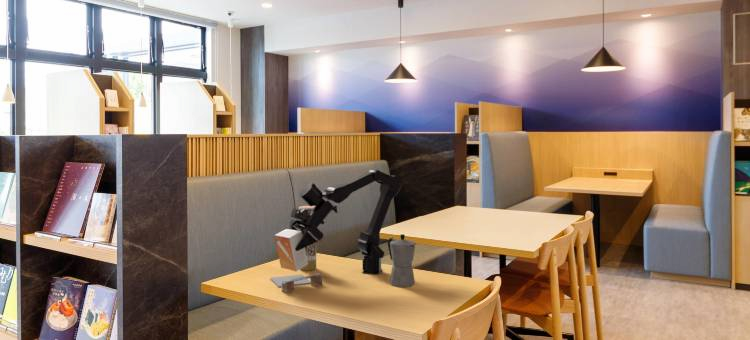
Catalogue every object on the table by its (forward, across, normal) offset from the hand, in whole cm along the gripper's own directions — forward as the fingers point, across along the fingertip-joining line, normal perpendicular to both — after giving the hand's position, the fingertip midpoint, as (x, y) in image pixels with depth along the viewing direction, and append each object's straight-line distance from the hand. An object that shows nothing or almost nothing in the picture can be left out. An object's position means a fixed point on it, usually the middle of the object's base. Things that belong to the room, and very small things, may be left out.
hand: (290, 247), depth 193 cm
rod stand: (+8, +6, +10) cm, 15 cm away
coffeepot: (-15, +18, +34) cm, 42 cm away
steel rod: (+6, +6, +8) cm, 12 cm away
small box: (+4, 0, +6) cm, 7 cm away
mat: (+9, -4, +10) cm, 14 cm away
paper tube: (0, -17, +19) cm, 26 cm away
